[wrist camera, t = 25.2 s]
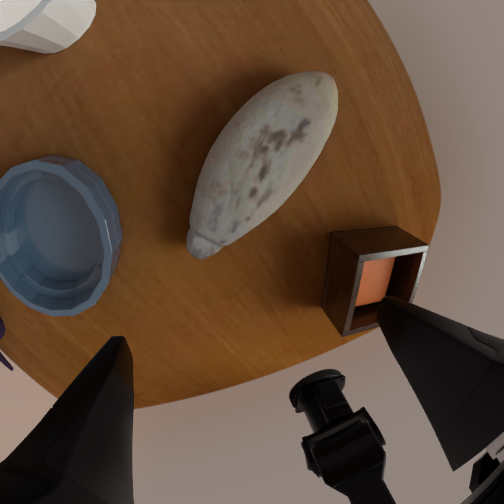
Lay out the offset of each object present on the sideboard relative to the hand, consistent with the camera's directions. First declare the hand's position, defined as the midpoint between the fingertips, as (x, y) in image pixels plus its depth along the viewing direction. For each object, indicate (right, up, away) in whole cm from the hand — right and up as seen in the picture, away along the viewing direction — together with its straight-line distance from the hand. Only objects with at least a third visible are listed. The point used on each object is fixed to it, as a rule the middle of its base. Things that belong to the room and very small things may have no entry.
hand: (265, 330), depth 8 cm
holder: (+10, +1, +16) cm, 19 cm away
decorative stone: (0, +9, +10) cm, 13 cm away
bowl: (-15, +4, +8) cm, 18 cm away
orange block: (+10, +1, +15) cm, 18 cm away
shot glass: (-14, +19, +1) cm, 24 cm away
